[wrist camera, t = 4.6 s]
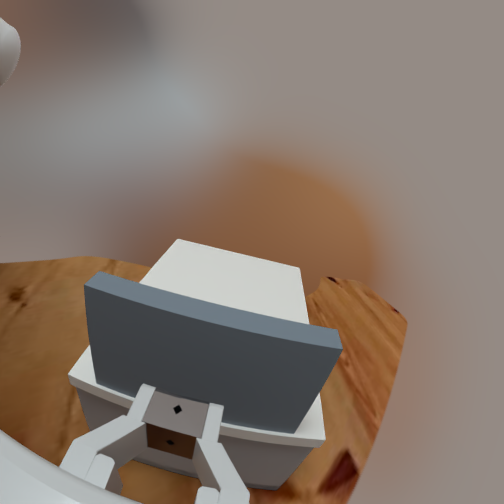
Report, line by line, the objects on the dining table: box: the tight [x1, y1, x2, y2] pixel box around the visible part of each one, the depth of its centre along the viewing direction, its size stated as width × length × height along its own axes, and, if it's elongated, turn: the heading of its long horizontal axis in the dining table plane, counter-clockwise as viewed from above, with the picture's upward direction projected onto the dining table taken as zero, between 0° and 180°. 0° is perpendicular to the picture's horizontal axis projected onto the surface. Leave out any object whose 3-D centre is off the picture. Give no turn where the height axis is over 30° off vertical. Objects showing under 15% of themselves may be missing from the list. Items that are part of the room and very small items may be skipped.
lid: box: [68, 239, 343, 448], centre depth 25 cm, size 25×16×8 cm, turn 176°
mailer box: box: [76, 387, 314, 490], centre depth 28 cm, size 24×16×9 cm, turn 176°
